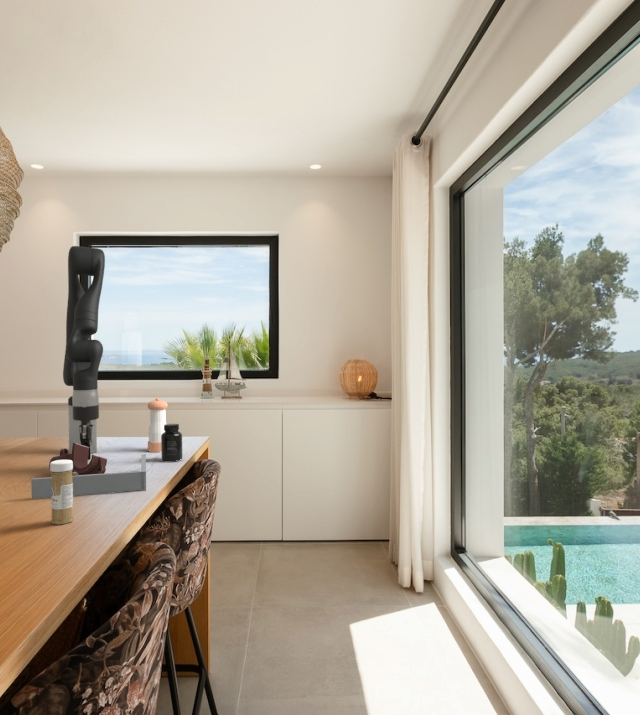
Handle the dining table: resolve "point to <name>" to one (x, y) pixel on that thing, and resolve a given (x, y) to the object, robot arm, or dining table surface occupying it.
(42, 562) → the dining table surface
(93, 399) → the robot arm
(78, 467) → the bracket
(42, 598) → the dining table surface
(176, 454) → the supplement bottle
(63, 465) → the sprinkles bottle
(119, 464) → the dining table surface
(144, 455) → the angled bar
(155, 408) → the pepper shaker
